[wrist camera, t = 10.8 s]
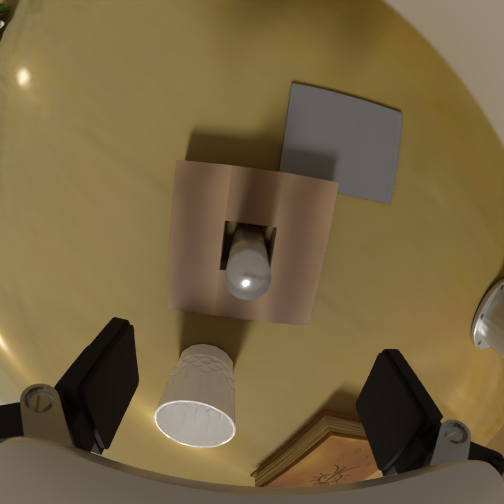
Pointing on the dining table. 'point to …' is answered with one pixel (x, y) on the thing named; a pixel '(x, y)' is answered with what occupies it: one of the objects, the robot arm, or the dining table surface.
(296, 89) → the mat
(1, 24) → the green leafy plant
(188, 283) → the hole block
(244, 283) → the peg
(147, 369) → the dining table surface
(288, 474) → the diary
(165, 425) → the white cup
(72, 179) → the dining table surface
